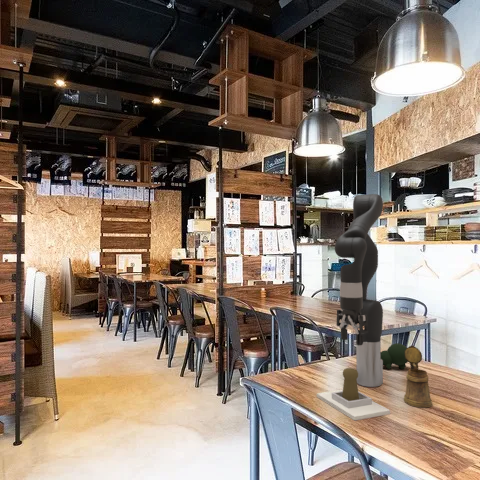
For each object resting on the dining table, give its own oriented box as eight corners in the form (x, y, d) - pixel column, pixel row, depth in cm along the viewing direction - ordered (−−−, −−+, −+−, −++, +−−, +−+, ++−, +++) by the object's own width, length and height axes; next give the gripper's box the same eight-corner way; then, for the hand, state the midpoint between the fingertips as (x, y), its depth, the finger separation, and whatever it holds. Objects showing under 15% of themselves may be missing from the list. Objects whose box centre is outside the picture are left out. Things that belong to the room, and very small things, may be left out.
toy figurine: (361, 373, 184) (421, 371, 180) (357, 330, 184) (416, 327, 180) (358, 367, 193) (415, 365, 189) (354, 326, 193) (411, 323, 190)
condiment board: (348, 391, 156) (348, 383, 156) (390, 413, 136) (390, 404, 136) (316, 396, 151) (316, 387, 151) (354, 420, 131) (354, 410, 131)
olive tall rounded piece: (360, 404, 140) (360, 372, 141) (342, 403, 142) (342, 371, 142) (358, 398, 146) (358, 366, 147) (341, 397, 148) (340, 365, 148)
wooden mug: (424, 394, 154) (424, 345, 154) (435, 408, 140) (435, 355, 140) (399, 393, 155) (399, 344, 155) (407, 406, 142) (407, 353, 142)
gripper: (373, 297, 139) (374, 346, 138) (347, 292, 152) (348, 337, 152) (355, 298, 136) (355, 348, 136) (330, 293, 149) (330, 339, 149)
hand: (351, 342), depth 144 cm, fingers open, 8 cm apart
